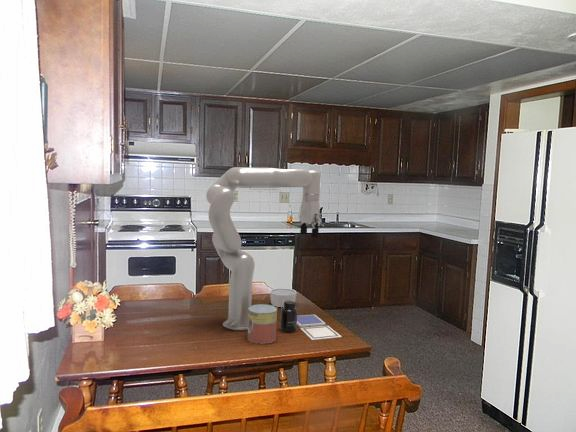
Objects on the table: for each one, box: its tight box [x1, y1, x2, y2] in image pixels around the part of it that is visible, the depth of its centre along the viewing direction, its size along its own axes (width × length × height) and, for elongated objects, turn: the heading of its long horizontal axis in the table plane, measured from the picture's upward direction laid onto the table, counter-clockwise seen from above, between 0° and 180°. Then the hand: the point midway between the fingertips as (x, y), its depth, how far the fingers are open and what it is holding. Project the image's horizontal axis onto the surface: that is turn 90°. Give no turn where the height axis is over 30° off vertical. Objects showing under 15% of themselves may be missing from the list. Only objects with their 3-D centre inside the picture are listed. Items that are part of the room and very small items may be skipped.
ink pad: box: [297, 314, 327, 328], centre depth 191 cm, size 12×12×1 cm
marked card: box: [299, 325, 342, 341], centre depth 178 cm, size 13×13×1 cm
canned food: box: [246, 303, 278, 345], centre depth 170 cm, size 11×11×12 cm
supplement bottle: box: [279, 301, 298, 334], centre depth 179 cm, size 7×7×12 cm
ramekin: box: [269, 287, 298, 309], centre depth 214 cm, size 13×13×7 cm
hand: (309, 235), depth 195 cm, fingers open, 9 cm apart
